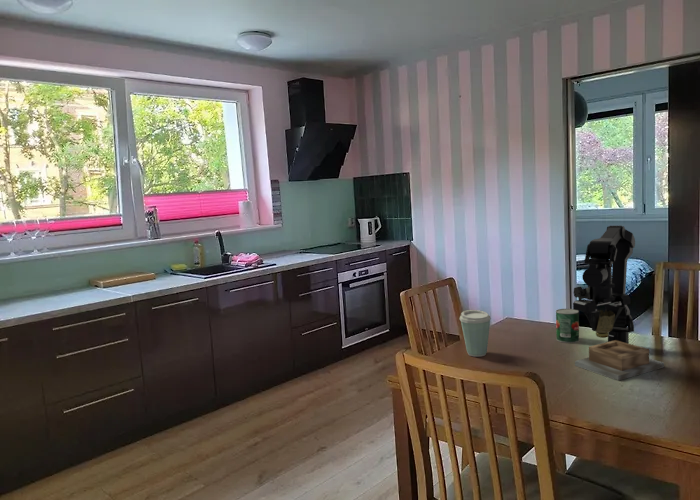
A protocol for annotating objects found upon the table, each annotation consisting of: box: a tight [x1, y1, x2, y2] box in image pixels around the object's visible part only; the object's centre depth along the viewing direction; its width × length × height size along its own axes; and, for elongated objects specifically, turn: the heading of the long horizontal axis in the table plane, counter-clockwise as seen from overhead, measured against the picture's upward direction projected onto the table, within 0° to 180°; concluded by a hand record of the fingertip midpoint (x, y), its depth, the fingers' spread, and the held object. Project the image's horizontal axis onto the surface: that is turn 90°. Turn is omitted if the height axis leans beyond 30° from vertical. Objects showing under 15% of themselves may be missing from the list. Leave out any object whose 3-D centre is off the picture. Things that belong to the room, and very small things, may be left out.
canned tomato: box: [555, 308, 580, 344], centre depth 197 cm, size 8×8×11 cm
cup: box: [594, 309, 615, 339], centre depth 168 cm, size 8×7×8 cm
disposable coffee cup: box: [458, 309, 492, 358], centre depth 187 cm, size 11×11×15 cm
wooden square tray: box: [574, 340, 665, 382], centre depth 167 cm, size 20×16×6 cm
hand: (602, 328), depth 169 cm, fingers closed on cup, 6 cm apart
